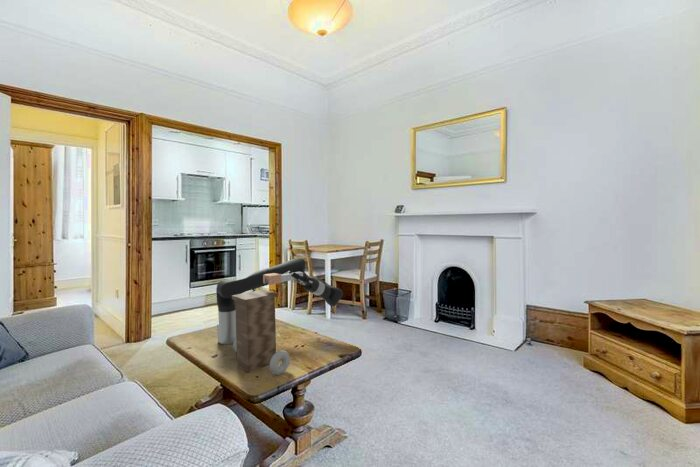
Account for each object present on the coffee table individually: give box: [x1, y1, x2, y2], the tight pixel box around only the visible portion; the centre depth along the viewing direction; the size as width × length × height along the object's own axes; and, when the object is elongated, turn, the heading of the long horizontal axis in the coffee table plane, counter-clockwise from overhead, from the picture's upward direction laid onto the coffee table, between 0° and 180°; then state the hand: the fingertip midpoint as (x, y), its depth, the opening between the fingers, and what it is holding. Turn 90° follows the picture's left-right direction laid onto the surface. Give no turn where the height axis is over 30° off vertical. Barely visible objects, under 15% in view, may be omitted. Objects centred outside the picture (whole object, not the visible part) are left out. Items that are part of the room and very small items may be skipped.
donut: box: [269, 349, 291, 376], centre depth 140 cm, size 10×4×10 cm, turn 143°
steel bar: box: [263, 272, 303, 286], centre depth 159 cm, size 20×6×4 cm, turn 136°
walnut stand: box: [232, 289, 279, 374], centre depth 149 cm, size 16×12×32 cm
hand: (290, 273), depth 162 cm, fingers closed on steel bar, 3 cm apart
